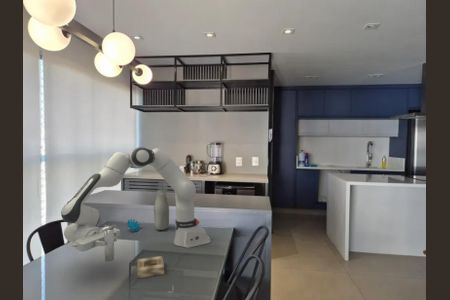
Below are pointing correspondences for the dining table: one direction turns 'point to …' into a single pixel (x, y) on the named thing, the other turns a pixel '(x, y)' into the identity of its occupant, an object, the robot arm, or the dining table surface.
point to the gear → (133, 225)
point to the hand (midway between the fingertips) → (110, 241)
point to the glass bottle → (161, 211)
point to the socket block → (150, 267)
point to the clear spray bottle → (109, 242)
